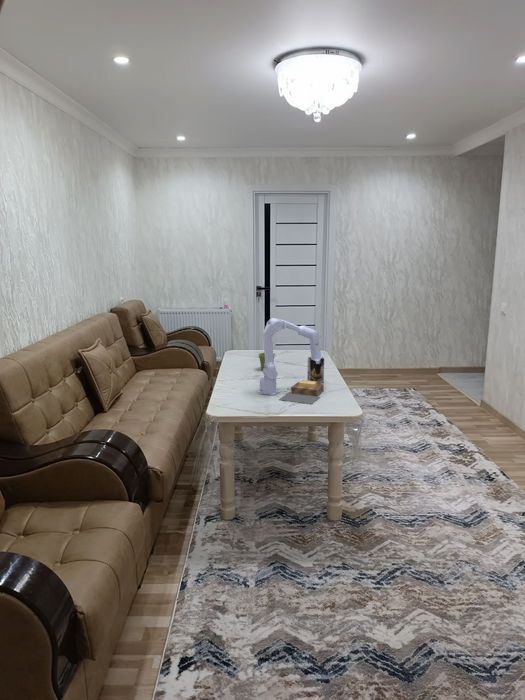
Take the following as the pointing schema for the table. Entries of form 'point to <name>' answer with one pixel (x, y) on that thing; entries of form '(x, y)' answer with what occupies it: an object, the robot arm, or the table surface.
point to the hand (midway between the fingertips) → (317, 371)
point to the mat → (299, 398)
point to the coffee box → (312, 372)
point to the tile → (308, 383)
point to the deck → (307, 389)
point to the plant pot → (263, 359)
